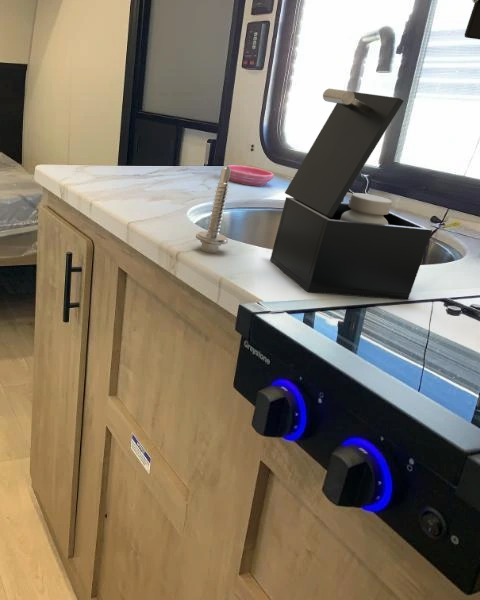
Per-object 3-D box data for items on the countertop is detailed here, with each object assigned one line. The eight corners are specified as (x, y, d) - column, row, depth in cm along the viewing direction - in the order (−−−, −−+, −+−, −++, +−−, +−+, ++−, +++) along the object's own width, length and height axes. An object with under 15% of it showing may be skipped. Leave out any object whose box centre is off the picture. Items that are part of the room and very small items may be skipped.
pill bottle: (326, 264, 89) (347, 189, 85) (370, 274, 87) (394, 198, 83) (324, 275, 84) (347, 196, 80) (371, 286, 82) (397, 205, 78)
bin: (358, 268, 92) (378, 206, 89) (408, 300, 81) (432, 230, 77) (269, 260, 90) (285, 197, 87) (307, 292, 79) (328, 220, 75)
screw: (190, 251, 90) (196, 243, 94) (222, 258, 89) (226, 249, 93) (208, 164, 85) (213, 160, 89) (242, 170, 84) (245, 166, 88)
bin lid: (348, 93, 82) (318, 76, 80) (404, 100, 70) (369, 81, 69) (288, 195, 87) (259, 180, 85) (331, 218, 75) (298, 201, 74)
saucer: (272, 189, 149) (275, 177, 148) (222, 181, 151) (224, 169, 150) (269, 181, 160) (272, 169, 159) (223, 174, 162) (225, 162, 161)
